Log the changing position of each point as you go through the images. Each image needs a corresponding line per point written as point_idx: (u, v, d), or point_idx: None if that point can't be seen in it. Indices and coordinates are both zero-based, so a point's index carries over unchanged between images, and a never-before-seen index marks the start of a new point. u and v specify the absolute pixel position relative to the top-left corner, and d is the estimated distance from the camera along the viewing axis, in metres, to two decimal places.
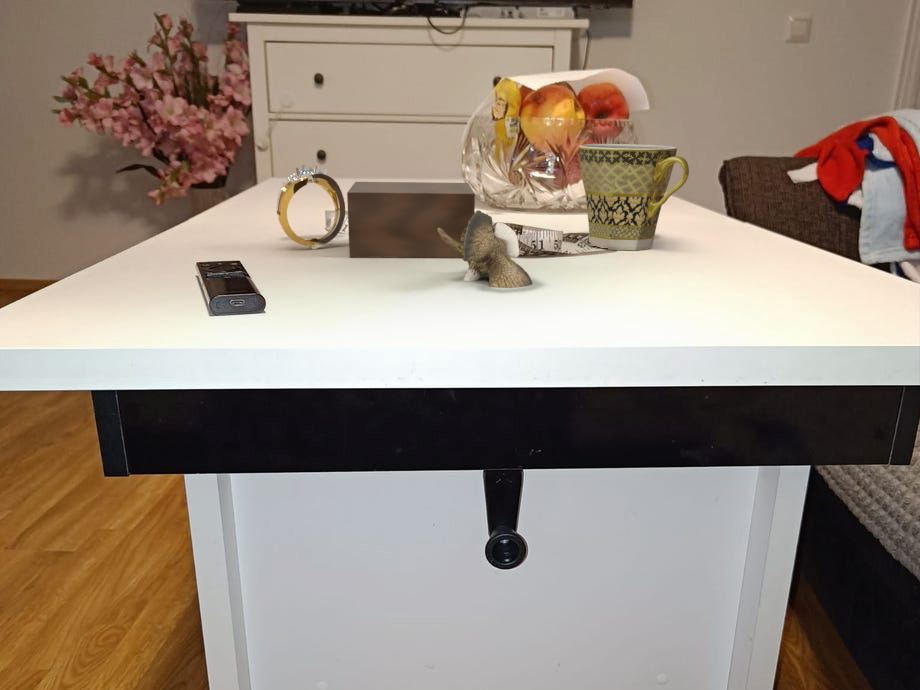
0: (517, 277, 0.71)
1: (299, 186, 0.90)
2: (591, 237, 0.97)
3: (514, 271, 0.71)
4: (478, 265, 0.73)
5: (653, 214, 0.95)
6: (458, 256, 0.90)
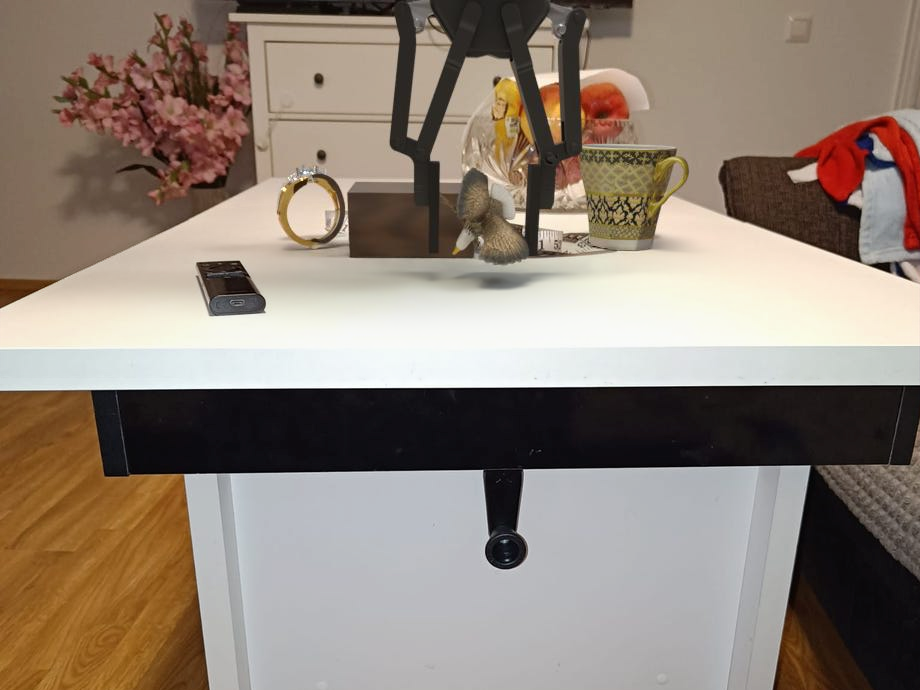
0: (512, 238, 0.70)
1: (299, 186, 0.90)
2: (591, 237, 0.97)
3: (509, 231, 0.70)
4: (473, 225, 0.71)
5: (653, 214, 0.95)
6: (458, 256, 0.90)
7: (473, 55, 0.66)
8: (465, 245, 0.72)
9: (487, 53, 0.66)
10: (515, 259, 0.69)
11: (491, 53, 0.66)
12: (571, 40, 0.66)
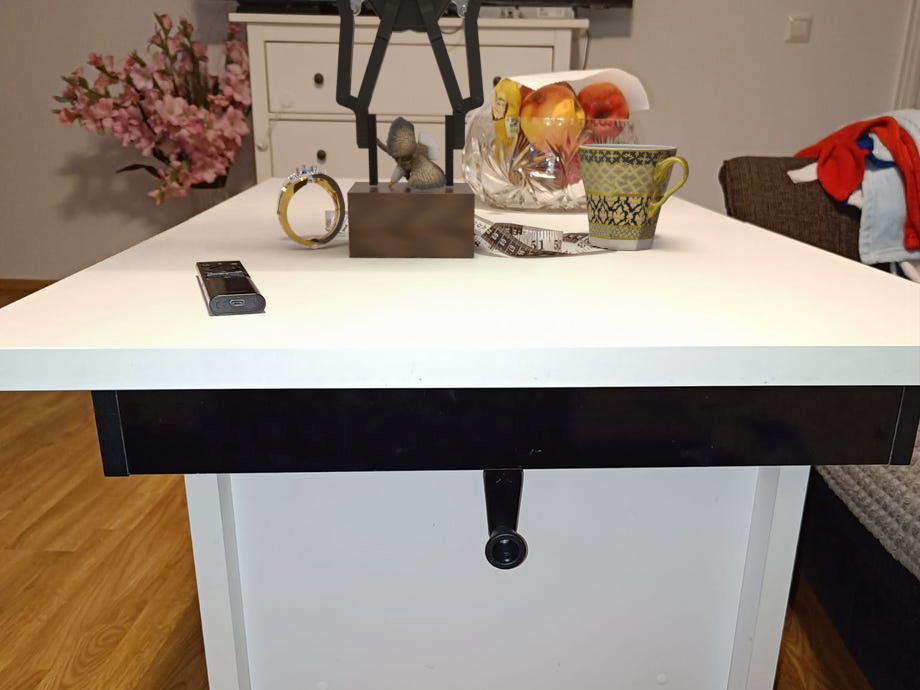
0: (433, 171, 0.90)
1: (299, 186, 0.90)
2: (591, 237, 0.97)
3: (430, 166, 0.91)
4: (403, 163, 0.92)
5: (653, 214, 0.95)
6: (458, 256, 0.90)
7: (397, 30, 0.87)
8: (398, 179, 0.92)
9: (407, 28, 0.87)
10: (434, 187, 0.89)
11: (411, 28, 0.87)
12: (471, 17, 0.86)
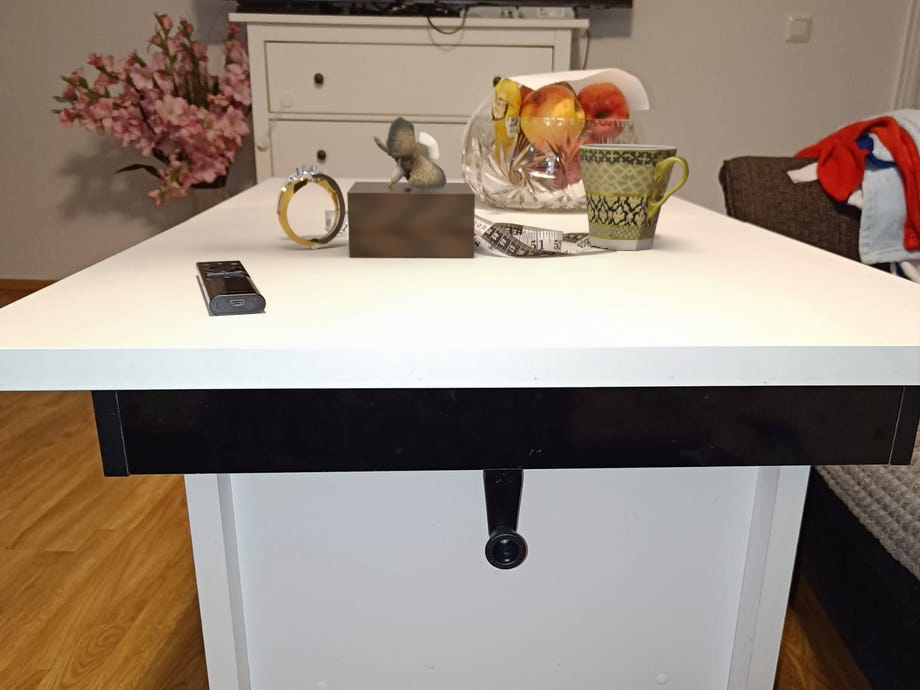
0: (432, 171, 0.90)
1: (299, 186, 0.90)
2: (591, 237, 0.97)
3: (430, 166, 0.91)
4: (403, 163, 0.92)
5: (653, 214, 0.95)
6: (458, 256, 0.90)
7: None
8: (398, 179, 0.92)
9: None
10: (434, 187, 0.89)
11: None
12: None
